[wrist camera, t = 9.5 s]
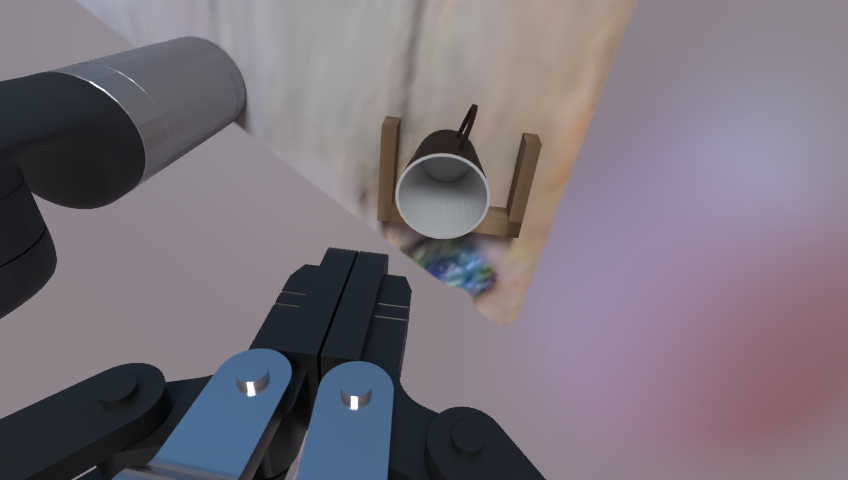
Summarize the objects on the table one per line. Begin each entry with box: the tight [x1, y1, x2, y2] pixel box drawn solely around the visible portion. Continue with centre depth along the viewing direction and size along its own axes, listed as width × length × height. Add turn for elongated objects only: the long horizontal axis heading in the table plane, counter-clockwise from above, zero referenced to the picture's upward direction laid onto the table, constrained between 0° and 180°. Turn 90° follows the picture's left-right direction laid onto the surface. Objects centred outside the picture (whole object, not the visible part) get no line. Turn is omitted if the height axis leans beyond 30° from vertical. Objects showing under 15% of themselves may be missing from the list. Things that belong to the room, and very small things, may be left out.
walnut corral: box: [377, 116, 542, 238], centre depth 48 cm, size 16×11×3 cm
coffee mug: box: [395, 104, 491, 239], centre depth 44 cm, size 12×9×10 cm
